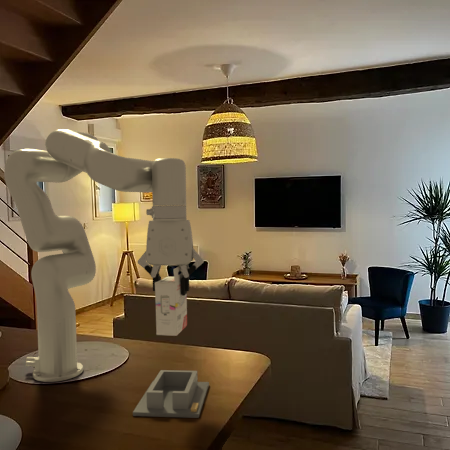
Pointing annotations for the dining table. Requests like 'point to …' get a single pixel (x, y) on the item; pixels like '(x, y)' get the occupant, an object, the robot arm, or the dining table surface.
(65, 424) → the dining table surface
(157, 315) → the ink cartridge box
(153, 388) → the grey box holder
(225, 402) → the dining table surface
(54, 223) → the robot arm
